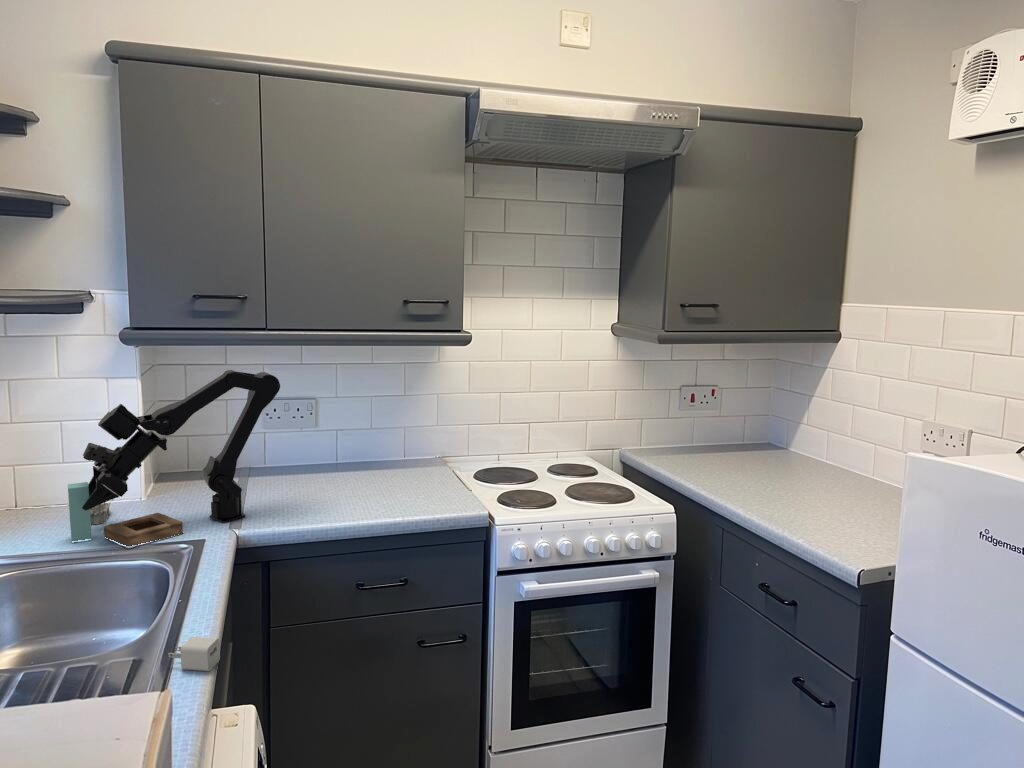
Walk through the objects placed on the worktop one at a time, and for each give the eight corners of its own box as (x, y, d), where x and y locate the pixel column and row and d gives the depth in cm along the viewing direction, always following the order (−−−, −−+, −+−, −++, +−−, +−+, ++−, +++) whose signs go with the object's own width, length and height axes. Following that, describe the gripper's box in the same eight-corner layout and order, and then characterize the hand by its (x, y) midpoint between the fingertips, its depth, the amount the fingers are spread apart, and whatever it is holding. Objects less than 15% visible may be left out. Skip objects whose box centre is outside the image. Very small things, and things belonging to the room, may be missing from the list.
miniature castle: (80, 515, 188) (79, 499, 188) (113, 512, 190) (112, 497, 190) (69, 528, 178) (68, 511, 178) (104, 525, 180) (103, 509, 180)
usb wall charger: (207, 673, 115) (206, 649, 114) (165, 670, 115) (164, 646, 115) (220, 659, 119) (219, 636, 118) (179, 657, 119) (178, 634, 119)
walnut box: (158, 524, 181) (158, 512, 181) (183, 533, 175) (182, 521, 175) (104, 538, 171) (103, 526, 170) (128, 549, 165) (127, 536, 164)
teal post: (90, 535, 173) (87, 481, 171) (91, 540, 169) (88, 486, 168) (71, 538, 171) (67, 484, 169) (71, 543, 167) (68, 488, 166)
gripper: (102, 423, 178) (51, 473, 173) (108, 438, 162) (52, 493, 158) (140, 452, 183) (91, 501, 179) (149, 469, 167) (96, 523, 163)
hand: (82, 503), depth 169 cm, fingers open, 9 cm apart
